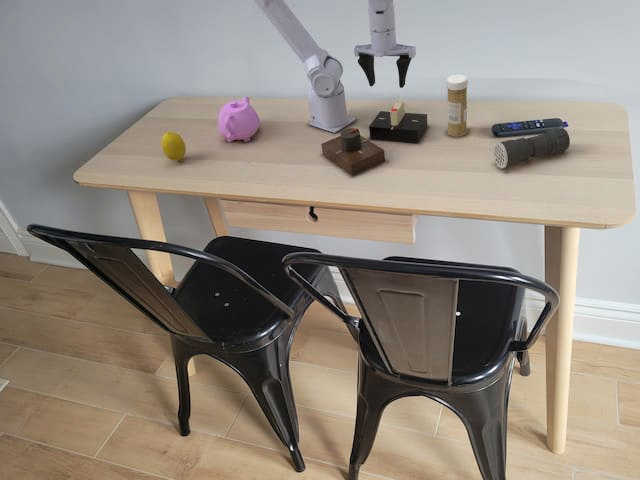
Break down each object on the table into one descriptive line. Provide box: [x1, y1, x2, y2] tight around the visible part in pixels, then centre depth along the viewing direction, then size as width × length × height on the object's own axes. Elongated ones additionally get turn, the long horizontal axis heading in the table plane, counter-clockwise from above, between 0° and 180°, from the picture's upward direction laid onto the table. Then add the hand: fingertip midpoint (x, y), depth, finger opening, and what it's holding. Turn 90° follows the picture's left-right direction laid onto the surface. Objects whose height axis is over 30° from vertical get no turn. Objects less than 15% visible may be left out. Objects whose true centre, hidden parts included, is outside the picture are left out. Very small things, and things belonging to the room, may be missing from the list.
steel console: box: [368, 109, 429, 145], centre depth 138 cm, size 12×10×4 cm
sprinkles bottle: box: [446, 74, 469, 138], centre depth 132 cm, size 5×5×14 cm
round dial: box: [339, 127, 361, 151], centre depth 130 cm, size 4×4×4 cm
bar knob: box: [389, 100, 406, 126], centre depth 136 cm, size 6×2×4 cm, turn 156°
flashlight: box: [493, 127, 571, 169], centre depth 122 cm, size 15×5×5 cm, turn 105°
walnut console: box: [320, 134, 386, 177], centre depth 132 cm, size 13×9×3 cm
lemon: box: [160, 131, 187, 162], centre depth 141 cm, size 6×6×8 cm
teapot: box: [217, 96, 261, 143], centre depth 147 cm, size 10×15×9 cm
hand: (387, 85), depth 139 cm, fingers open, 7 cm apart
